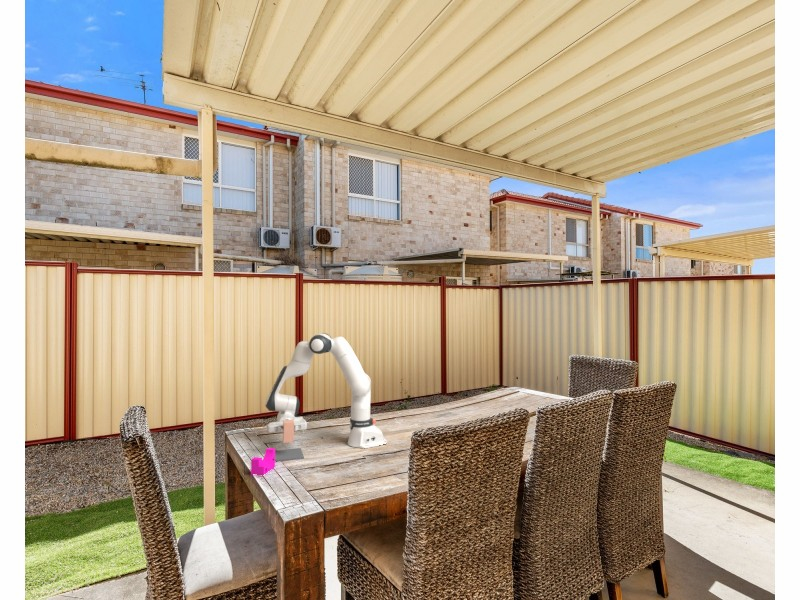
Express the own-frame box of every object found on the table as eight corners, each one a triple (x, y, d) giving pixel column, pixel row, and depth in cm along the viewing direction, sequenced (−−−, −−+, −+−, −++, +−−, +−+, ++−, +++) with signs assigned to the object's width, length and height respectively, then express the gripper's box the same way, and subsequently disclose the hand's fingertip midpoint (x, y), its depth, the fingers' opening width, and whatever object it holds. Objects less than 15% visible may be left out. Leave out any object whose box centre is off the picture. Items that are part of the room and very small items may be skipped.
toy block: (263, 476, 178) (263, 460, 178) (250, 475, 179) (251, 459, 179) (279, 464, 193) (279, 448, 193) (267, 463, 194) (268, 447, 194)
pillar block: (292, 438, 207) (293, 419, 207) (293, 441, 202) (294, 422, 203) (282, 439, 205) (283, 420, 206) (283, 442, 201) (284, 423, 201)
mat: (300, 449, 213) (300, 447, 213) (303, 458, 200) (303, 457, 200) (273, 452, 208) (273, 450, 208) (275, 462, 195) (275, 460, 195)
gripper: (266, 418, 213) (267, 426, 200) (305, 416, 220) (308, 422, 207) (266, 430, 212) (267, 438, 200) (304, 427, 220) (308, 435, 207)
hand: (288, 430), depth 203 cm, fingers closed on pillar block, 5 cm apart
